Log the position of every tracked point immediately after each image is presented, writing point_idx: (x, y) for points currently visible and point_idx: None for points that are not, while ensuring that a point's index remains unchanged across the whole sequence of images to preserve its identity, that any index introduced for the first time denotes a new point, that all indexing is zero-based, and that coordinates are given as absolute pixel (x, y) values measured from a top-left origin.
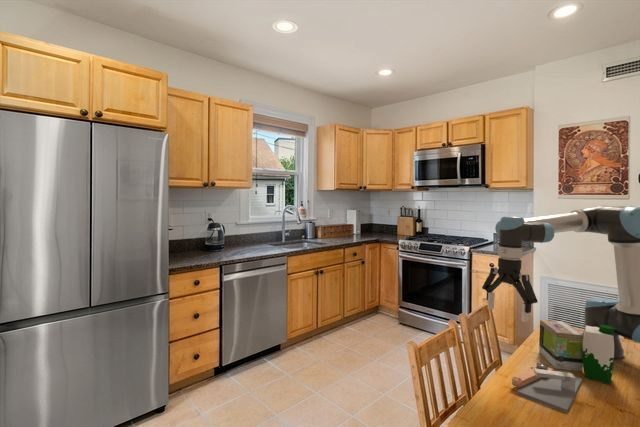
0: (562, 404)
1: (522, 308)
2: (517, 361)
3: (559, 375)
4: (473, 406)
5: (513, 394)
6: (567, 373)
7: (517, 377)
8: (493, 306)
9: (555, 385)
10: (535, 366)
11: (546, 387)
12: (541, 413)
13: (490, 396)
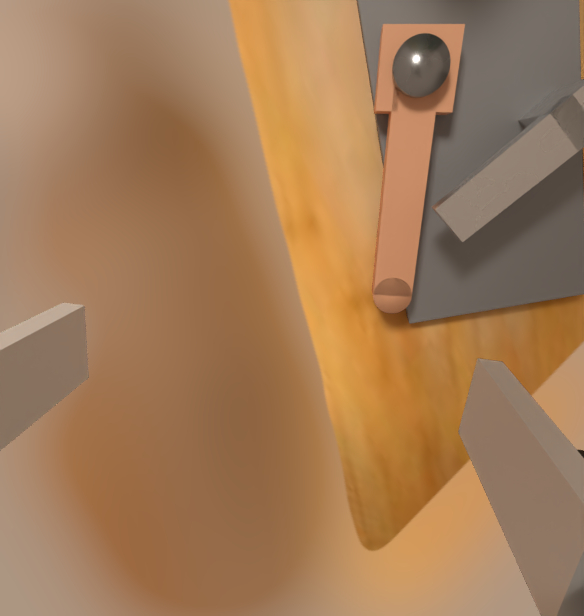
0: (562, 272)
1: (520, 550)
2: (259, 16)
3: (553, 169)
4: (357, 484)
5: (399, 329)
6: (580, 102)
7: (386, 280)
8: (66, 325)
9: (497, 137)
10: (389, 85)
11: None
12: (511, 360)
13: (357, 402)
